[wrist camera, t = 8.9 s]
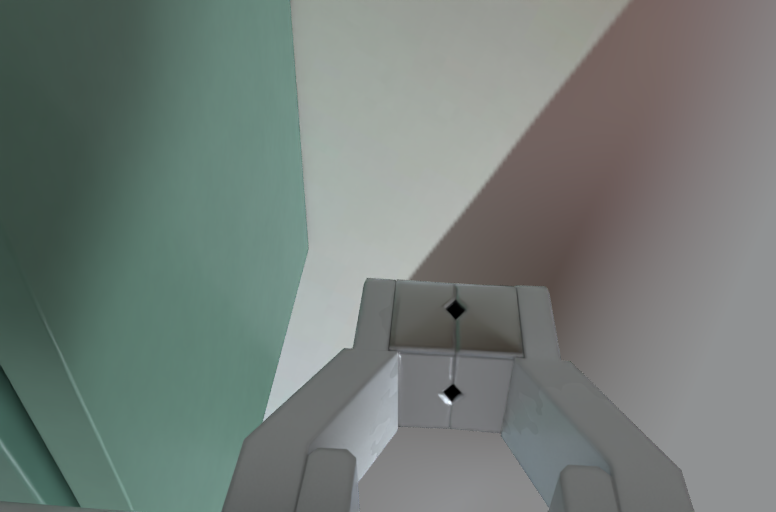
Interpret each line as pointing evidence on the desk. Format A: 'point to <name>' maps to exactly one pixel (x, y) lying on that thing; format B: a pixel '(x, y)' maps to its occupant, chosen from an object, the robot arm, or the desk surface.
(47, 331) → the cabinet door
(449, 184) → the desk surface
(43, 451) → the cabinet
